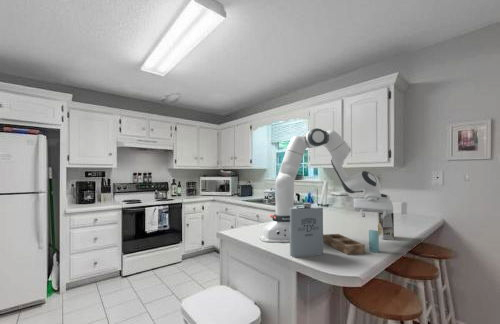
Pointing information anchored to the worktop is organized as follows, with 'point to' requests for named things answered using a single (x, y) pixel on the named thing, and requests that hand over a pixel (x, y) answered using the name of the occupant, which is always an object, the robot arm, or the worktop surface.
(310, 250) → the flask
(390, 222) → the coffee box
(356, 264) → the worktop surface
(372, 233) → the peg
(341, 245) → the wooden compartment tray
